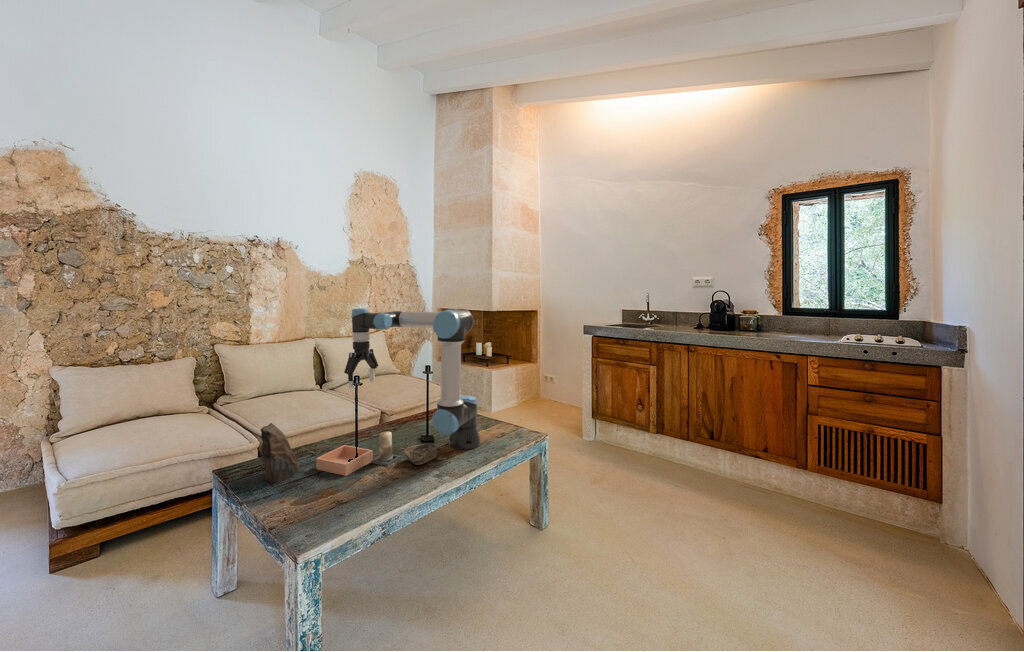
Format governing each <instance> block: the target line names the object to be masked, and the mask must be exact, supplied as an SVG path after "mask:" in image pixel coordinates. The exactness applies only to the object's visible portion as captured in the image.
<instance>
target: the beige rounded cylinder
mask: <svg viewBox="0 0 1024 652" xmlns="http://www.w3.org/2000/svg"><path fill="white" fill-rule="evenodd" d="M378 435H379V438H378V439H379V455H378V457H379V460H378V461H381V462H386V463H388V462H390V461H391V460H393V459H394V458H393V455H394V454H393V437H392V435H393V433H392V432H391V431H382V432H380V433H379V434H378Z"/></svg>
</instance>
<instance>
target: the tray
mask: <svg viewBox="0 0 1024 652" xmlns="http://www.w3.org/2000/svg"><path fill="white" fill-rule="evenodd" d="M356 447H357V446H351V445H347V444H346V445H345V444H343V445H342V446H339V447H337V448H335V449H333V450H331V451H329V452H326V453H325V454H322V455H320V456H318V457H316V458H315V466H316V467H315V469H316V470H318V471H323V472H327V473H331V474H336V475H341V476H345V477H347V476H348V475H349V476H350V475H351V474H352V473H354V472H356V471H357V470H359V469H361V468H363V467H364V466H366V465H368V464H370V463H371V460H373V459H374V455H373V454H374V453H373V452H374V451H373V449H369V448H361V447H357V453H358V457H357V458H355V456H356ZM354 458H355V459H354ZM349 459H353V460H351V461H350V462H348V460H349Z"/></svg>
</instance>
